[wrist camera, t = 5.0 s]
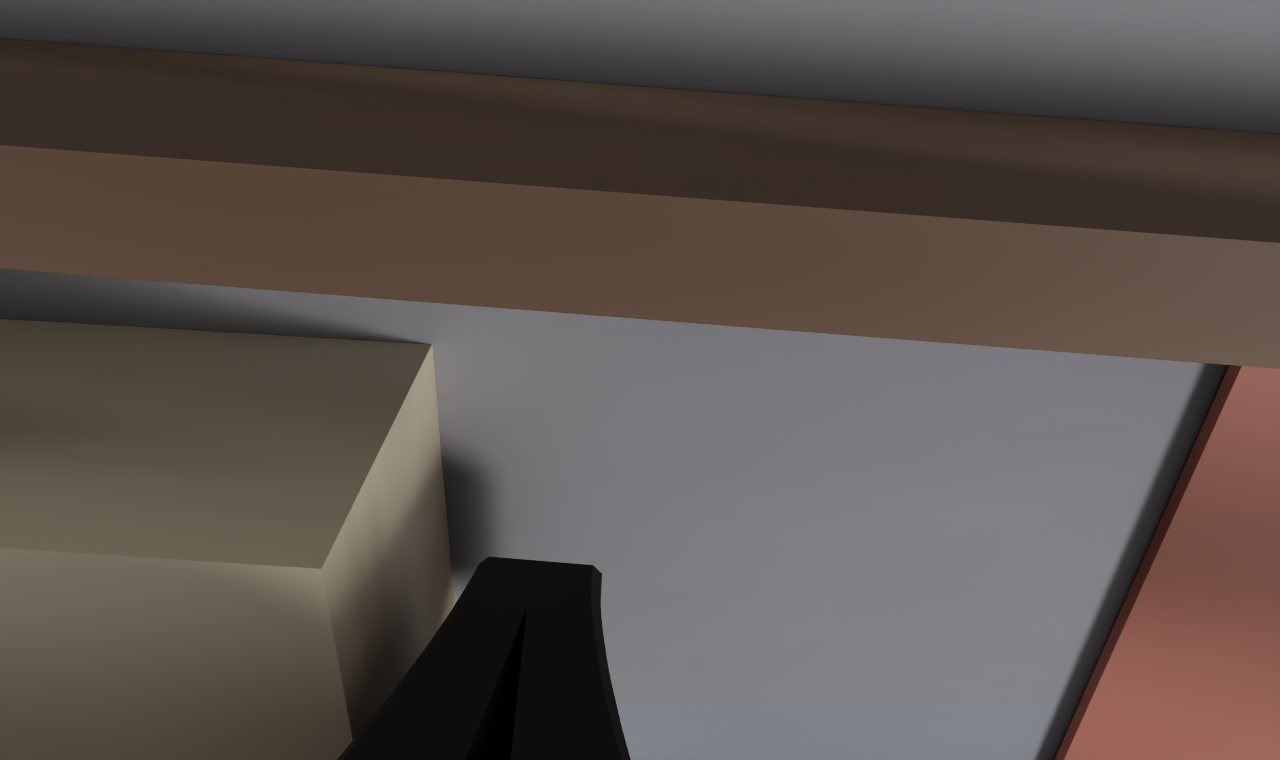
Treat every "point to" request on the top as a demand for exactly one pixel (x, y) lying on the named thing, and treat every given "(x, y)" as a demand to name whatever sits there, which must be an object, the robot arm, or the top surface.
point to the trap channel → (728, 264)
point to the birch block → (212, 540)
